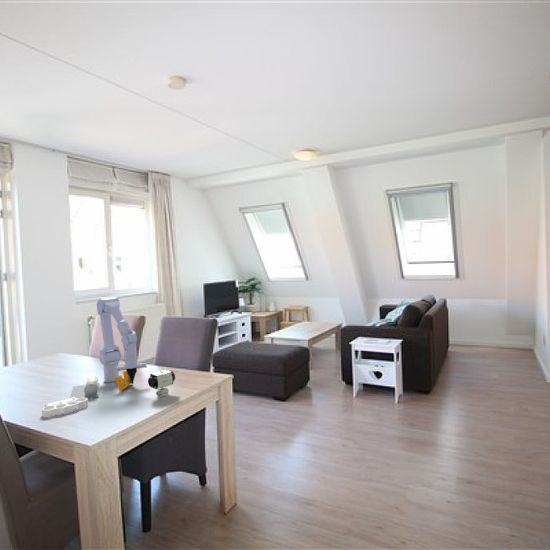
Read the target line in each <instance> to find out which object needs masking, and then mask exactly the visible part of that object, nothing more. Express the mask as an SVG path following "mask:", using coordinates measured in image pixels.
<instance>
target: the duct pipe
mask: <svg viewBox="0 0 550 550" xmlns="http://www.w3.org/2000/svg"><path fill="white" fill-rule="evenodd" d="M98 381H99V379H98V377H97V376H95V375H89V377H87V379H86V384H83V385H75V386H73V387H72V390H71V393H70V396H69V399H70V398H72V397H75V398H88V400H92V399H91V398H94V399H98V398H99V394H98V393H100V392H99V391H100V382H98ZM97 397H98V398H97Z"/></svg>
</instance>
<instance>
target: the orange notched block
mask: <svg viewBox="0 0 550 550" xmlns="http://www.w3.org/2000/svg"><path fill="white" fill-rule="evenodd" d="M114 382H115V383H116V385H117V387H118V390H119V391H122V390H125V389H126V388H127V387H128V386H130V385H132V384H131V380H130V377H129V375H128V373H127V371H126V370H123V372H122V375H120V374H119V376H118V377H116V378H115V381H114Z"/></svg>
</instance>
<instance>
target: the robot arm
mask: <svg viewBox="0 0 550 550" xmlns="http://www.w3.org/2000/svg"><path fill="white" fill-rule="evenodd" d="M120 306H121V303H120V299H119V298H118V297H117V296H115V297H106V298H99V299H98V300H97V302H96V308H97V309H96V311H97V315H99V318H100V325H101V332H102V339H103V347H102V348H101V349H100V350H99V359H98V360H99V362H100V364H102V365H103V376H104V377H103V383H105V382H106V383H111V382H116V381H115V378H116V377H118V376H120V374H119V373H120V371H127V373H128V375H129V377H130V380H131V384H130V385H133V384H134V380H135V376H136V374H137V370H138V369H142V368H143V369H144V368H147V366H148V365H147V362H143V363H139V362H138V353H137V343H138V342H139V335H138V333H137V331H134V330H133V329H132V327H131V326H130V324H129V322H128V320H125V318H124V317H123V315H122V311H121V309H120ZM112 317H113V319H114V321H115V322H116V323H117V324H116V328H117V330H118V332H119V334H120V336H121V343H122V348H123V349H124V365H119V363H120V361H121V360H122V352H121V349H120V347H119V346H118V345H116V344H115V338H114V331H113V324H112Z"/></svg>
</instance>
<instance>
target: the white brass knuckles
mask: <svg viewBox="0 0 550 550" xmlns="http://www.w3.org/2000/svg"><path fill="white" fill-rule="evenodd" d="M86 406H87V407H89V399H88V398H75V397H72V398H70V397H69V398H67V399H62V400H58V401H54V402H51V403H46V404H44V407H43V408H41V414H42V415H41V416H43V417H42V418H45V417H47V418H52V417H55V415H57V416H63V415H62V414H64V415H67V414H69V413H68V412H70V413H74V412H73V411H75V412H77V411H76V410H78V409H79V410H81V409H80V408H82V409H84V408H83V407H86ZM87 407H86V408H87ZM79 410H78V411H79ZM66 413H67V414H66ZM51 416H52V417H51Z"/></svg>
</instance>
